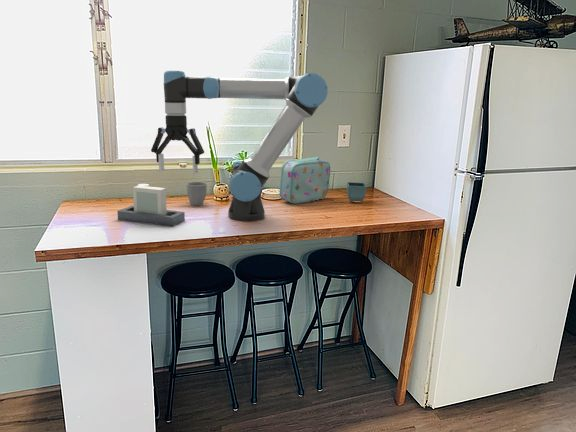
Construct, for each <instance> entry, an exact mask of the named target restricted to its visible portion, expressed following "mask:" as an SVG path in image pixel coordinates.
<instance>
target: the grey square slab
mask: <svg viewBox="0 0 576 432" xmlns="http://www.w3.org/2000/svg"><path fill="white" fill-rule="evenodd" d="M137 185H138V184H137ZM137 185H136V186H133V187H132V195H133V196H132V198H133V206H134V212H142V213H151V214H159V215H167V211H166V210H167V188H165V187H159V186H158V187H157V186H150V185H149V186H140V185H138V186H137Z"/></svg>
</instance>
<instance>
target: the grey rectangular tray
mask: <svg viewBox="0 0 576 432" xmlns="http://www.w3.org/2000/svg"><path fill="white" fill-rule="evenodd" d="M166 211H167V215H159V214H151V213H142V212H134V205H129V206H126V207H125V208H122V209H120V210H119V209H118V210H117V221H125V222H126V221H127V222H133V223H142V224H149V225H156V226H157V225H158V226H164V227H175V226H177V225H178V224H180V223H183V222H185V220H186V219H185V217H186V215H185V213H186V212H185V211H180V210H179V211H177V210H171V209H166Z"/></svg>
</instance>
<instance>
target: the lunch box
mask: <svg viewBox="0 0 576 432" xmlns="http://www.w3.org/2000/svg"><path fill="white" fill-rule="evenodd" d="M330 177H331V164H330V163H329V162H328V161H326V160H323V159H321V158H320V157H318V156H313V157H307V158H298V159H287V160H286V161H284V162H283V164H282V166H281V171H280V183H279V196H280V199H281V200H282V201H286V202H288V203H291V204H294V205H297V204H304V203H312V202H311V201H313V202H315V200H317V201H320V200H319V199H322V198H324V199H325V198H326V196H327V195H328V191H329V187H330V186H329V185H330V179H331V178H330ZM322 200H323V199H322Z"/></svg>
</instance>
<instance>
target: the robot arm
mask: <svg viewBox="0 0 576 432" xmlns="http://www.w3.org/2000/svg"><path fill="white" fill-rule="evenodd" d="M328 92H329V88H328V84H327V82H326V80H325V79H324V77H322V76H321V75H319V74H317V73H314V72H307V73H304V74H302V75H299V76H298V75H297V76H287V77H285V78H284V79H282V78H241V77H240V78H235V77H234V78H233V77H232V78H231V77H227V78H226V77H214V76H186V73H185V71H184V70H165V71H164V72H163V94H164V96H163V97H164V112H165V114H166V115H165V127H163V126H162V127H158V128H157V134H156V138H155V139H154V142H153V144H152V147H151V150H150V151H151V153H154V154H155V157H156V158H155V159H156V163H158V171H159V172H160V173H162V172H164V171H165V157H164V153H163V151H164V150H165V149H166V148H167V146H168V145H169V144H170V142H171V141H177V142H178V141H181V142H183V143H184V144H185V145H186V146H187V148H188V149H189V150H190V151H191V152H192V154H193V155H192V174H197V173H198V170H199V169H198V165H200V163H201V162H200V159H201V158H200V156H201V155H204V154H205V150H204V148H203V145H202V144H201V142H200V140H199V137H198V136H197V132H196V129H195V128H188V127H187V125H188V123H187V122H188V120H187V119H188V117H187V115H185V114H187V103H186V102H187V99H208V100H212V99H250V100H251V99H252V100H284V101H285V102H286V103H285V106H284V108H282V110H281V111H280V113H279V115H278V116H277V118H276V119H275V121H274V122H273V123H272V125H271V126H270V127H269V129H268V131H267V132H266V133H265V135H264V137H263V138H262V140H261V141H260V142H259V144H258V146H256V148H255V150H254V151H253V153H252V154H251V156H250V157H249V158H244V159H243V160H242V161H234V162H233V163H232V176H231V177H230V180H229V186H228V187H229V190H230V194H231V195H232V199H231V203H230V205H229V208H228V212H227V213H228V215H227V216H228V217H229V219H232V220H236V221H244V222H245V221H246V222H249V221H250V222H251V221H252V222H253V221H258V220H259V221H260V220H262V219H264V218H265V215H266V214H265V213H266V212H265V208H264V205H263V202H262V201H263V200H262V188H263V186H264V185H265V184H266V183H267V182H268V179H269V178H270V170H271V169H272V167H273V165H274V164H275V163H276V161H277V159H278V158H279V157H280V155H281V154H282V152H283V151H284V149H285V148H286V147H287V146H288V144H289V142H291V140H292V139H293V136H295V134H296V133H297V131H298V130H299V128H300V126H301V125H302V123H303V122H304V120H306V119H307V118H312V117H313V115H314V113H315V112H316V110H317V109H319V106H321V105H322V104H323V103H325V101H326V99H327V97H328ZM164 134H166V137H165V138H164V140H163V141H162V139H163V137H164ZM187 134H188V135H190V138H191V139H192V140H190V138H189V137H188V136H187ZM191 141H192V142H193V143H192V142H191Z"/></svg>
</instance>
